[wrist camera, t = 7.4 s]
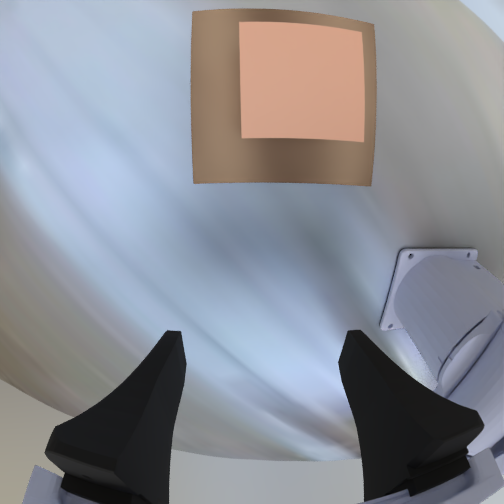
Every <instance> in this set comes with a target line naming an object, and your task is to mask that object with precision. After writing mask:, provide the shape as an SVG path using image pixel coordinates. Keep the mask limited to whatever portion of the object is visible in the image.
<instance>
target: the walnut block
mask: <svg viewBox="0 0 504 504" xmlns="http://www.w3.org/2000/svg"><path fill="white" fill-rule="evenodd" d="M239 22H286V23H300V24H311V25H320V26H328V27H335V28H342V29H348V30H353V31H358V32H362V41H363V57H364V83H365V125H364V142H355V141H342V140H326V139H303V138H242V135H241V93H240V44H239ZM376 94H377V81H376V47H375V31H374V24H371V23H367V22H362V21H358V20H353V19H348V18H343V17H338V16H332V15H326V14H319V13H311V12H302V11H292V10H278V9H217V10H204V11H193V12H192V37H191V133H192V161H193V182H194V184H200V183H243V182H274V183H317V184H340V185H358V186H371V182H372V172H373V161H374V147H375V130H376Z"/></svg>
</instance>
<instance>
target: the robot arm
mask: <svg viewBox="0 0 504 504" xmlns="http://www.w3.org/2000/svg"><path fill="white" fill-rule="evenodd" d="M410 254H411V256H410V257H408V256H409V255H410ZM477 256H478V251H477V250H476V249H403V250H401V252H400V253H399V257H398V261H397V265H396V270H395V274H394V278H393V281H392V285H391V289H390V293H389V296H388V300H387V303H386V307H385V310H384V313H383V316H382V320H381V323H380V328H381V330H383V331H385V330H393V329H401V328H405V330H406V331H407V333H408V334H409V336H410V338H411V339H412V341H413V342H414V344H415V346H416V347H417V349H418V350H419V352H420V354H421V355H422V357H423V359H424V360H425V362H426V364H427V365H428V367H429V369H430V371H431V372H432V374H433V376H434V377H435V379H436V381H437V383H438V385H437V387H436V389H435V390H434V391H432V390H430V389H428V388H427V387H425V386H424V385H422V384H421V383H419V382H418V381H416V380H415V379H414V378H412V377H411V376H410V375H408V374H407V373H406V372H405V371H404V370H402V369H401V368H400V367H399V366H398V365H396V364H395V363H394V362H393V361H392V360H391V359H390V358H389V357H388V356H387V355H386V354H385V353H384V352H383V351H381V350H380V349H379V348H378V347H377V346H376V345H375V344H374V343H373V342H372V341H371V340H370V339H369V338H368V337H367V336H366V335H365V334H364V333H363V332H362V331H361V330H349V331H348V332H347V335H346V339H345V342H344V345H343V349H342V352H341V355H340V358H339V361H338V364H339V370H340V375H341V380H342V383H343V387H344V390H345V393H346V396H347V399H348V402H349V405H350V408H351V411H352V414H353V417H354V420H355V423H356V427H357V432H358V438H359V443H360V450H361V457H362V466H363V478H364V502H362V503H358V504H480V503H481V502H483V501H484V500H486V499H487V498H488V497H490V496H491V495H493V494H494V493H496V492H497V491H498V490H500V489H501V488H502V487H504V480H503V477H502V475H503V474H504V284H503V283H502V282H501V281H500V280H499V279H497V278H496V277H495V276H494V275H493V274H492V273H490V272H489V271H488V270H487V269H486V268H485V267H483V266H482V265H481V264H480V263H478V262H477V261H476V259H477ZM390 324H391V325H390ZM186 364H187V363H186V358H185V352H184V347H183V341H182V335H181V331H169V330H167V331H166V332H165V333H164V334H163V336H162V337H161V339H160V340H159V341H158V343H157V344H156V345H155V346H154V348H153V349H152V350H151V352H150V353H149V354H148V355H147V356H146V358H145V359H144V360H143V361H142V362H141V364H140V365H139V366H138V367H137V368H136V369H135V370H134V371H133V372H132V373H131V375H130V376H129V377H128V378H127V379H126V380H125V381H124V382H123V383H122V384H120V385H119V386H118V387H117V388H116V389H115V390H114V391H113V392H111V393H110V394H109V395H108V396H106V397H105V398H104V399H103V400H101V401H100V402H99V403H97V404H96V405H94V406H93V407H91V408H90V409H88V410H86V411H85V412H83V413H82V414H80V415H78V416H76V417H75V418H73V419H71V420H68V421H66V422H64V423H62V424H60V425H58V426H55V428H54V430H53V432H52V434H51V436H50V439H49V442H48V444H47V447H46V450H45V455H46V456H47V458H48V459H49V460H50V461H52V462H53V463H54V464H55V465H56V466H57V467H58V468H60V469H61V470H62V471H63V472H65V474H64V477H63V478H62V477H60V476H58V475H57V474H55V473H52V472H50V471H48V470H46V469H44V468H41V467H39V466H37V465H35V466H34V469H33V472H32V475H31V477H30V480H29V484H28V486H27V490H26V493H25V496H24V499H23V503H22V504H169V475H170V458H171V446H172V437H173V430H174V424H175V420H176V416H177V412H178V407H179V403H180V399H181V395H182V391H183V387H184V381H185V373H186Z"/></svg>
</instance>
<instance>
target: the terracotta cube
mask: <svg viewBox="0 0 504 504" xmlns="http://www.w3.org/2000/svg"><path fill="white" fill-rule="evenodd" d="M239 44H240V93H241V135H242V138H303V139H326V140H342V141H355V142H364V125H365V83H364V57H363V41H362V32H358V31H353V30H348V29H342V28H335V27H328V26H320V25H311V24H300V23H286V22H239Z"/></svg>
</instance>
